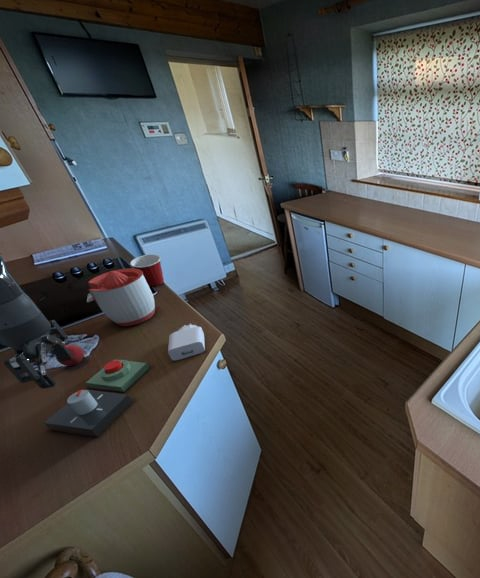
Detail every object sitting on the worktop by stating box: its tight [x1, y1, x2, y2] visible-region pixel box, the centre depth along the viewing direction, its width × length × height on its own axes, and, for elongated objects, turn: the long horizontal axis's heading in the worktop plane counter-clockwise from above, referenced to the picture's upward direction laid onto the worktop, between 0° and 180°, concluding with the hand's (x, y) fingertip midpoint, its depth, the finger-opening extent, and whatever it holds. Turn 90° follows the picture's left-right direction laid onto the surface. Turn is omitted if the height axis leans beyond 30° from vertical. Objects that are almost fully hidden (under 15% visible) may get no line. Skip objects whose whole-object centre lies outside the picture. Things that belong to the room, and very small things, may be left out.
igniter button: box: [103, 359, 123, 374], centre depth 84 cm, size 4×4×2 cm
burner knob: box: [66, 388, 98, 415], centre depth 73 cm, size 4×4×5 cm
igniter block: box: [85, 358, 150, 393], centre depth 85 cm, size 11×9×4 cm
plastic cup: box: [129, 253, 165, 287], centre depth 128 cm, size 11×11×12 cm
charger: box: [167, 323, 206, 361], centre depth 98 cm, size 5×9×15 cm
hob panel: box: [43, 389, 133, 438], centre depth 75 cm, size 13×10×3 cm
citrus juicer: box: [86, 267, 156, 327], centre depth 105 cm, size 16×17×20 cm
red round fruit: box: [55, 344, 85, 366], centre depth 88 cm, size 6×6×8 cm
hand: (59, 372), depth 68 cm, fingers open, 8 cm apart
